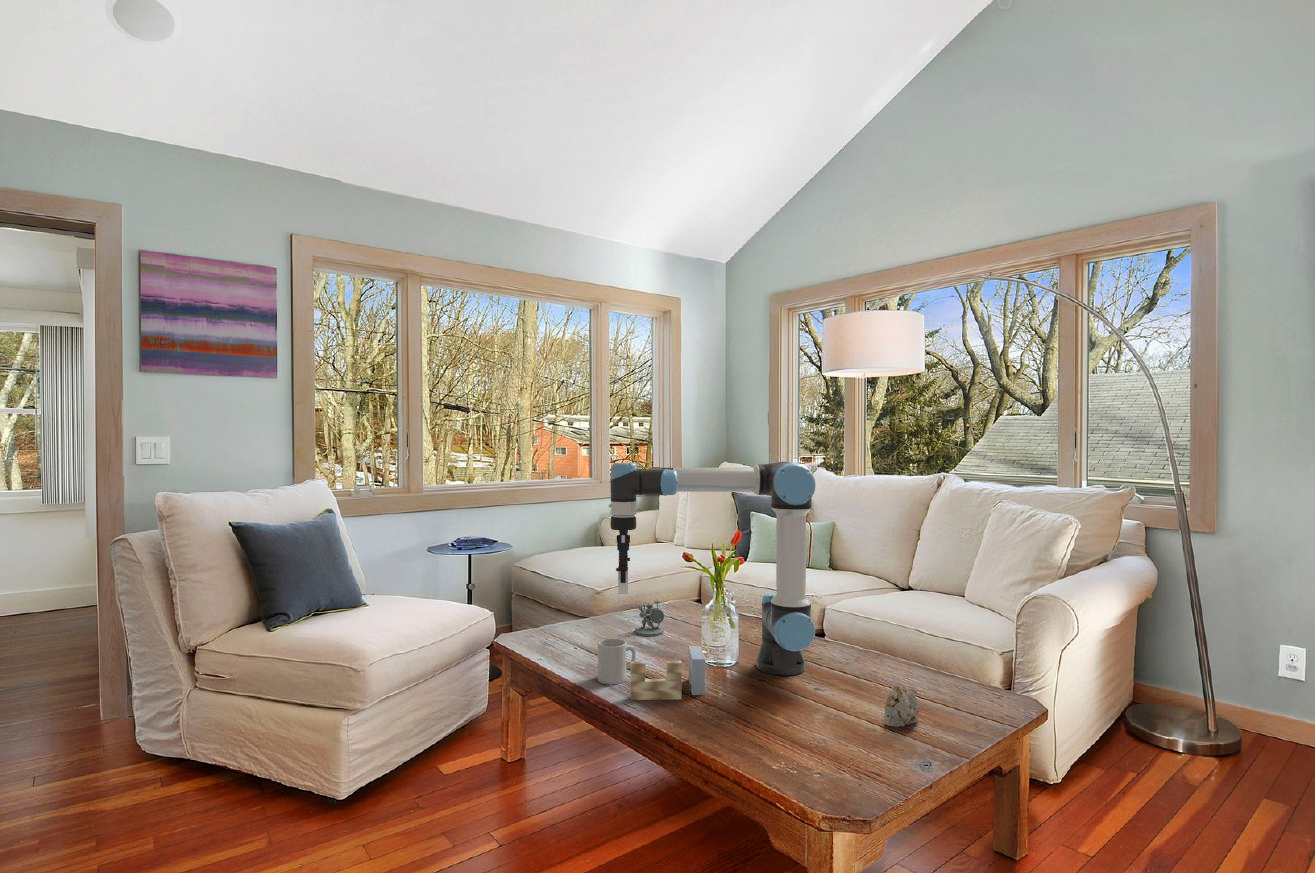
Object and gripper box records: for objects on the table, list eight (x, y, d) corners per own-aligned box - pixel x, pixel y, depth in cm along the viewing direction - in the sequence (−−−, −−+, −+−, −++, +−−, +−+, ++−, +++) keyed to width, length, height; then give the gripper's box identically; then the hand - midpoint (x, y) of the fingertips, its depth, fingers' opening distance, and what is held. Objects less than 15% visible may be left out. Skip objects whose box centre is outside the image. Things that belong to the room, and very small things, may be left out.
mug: (604, 686, 199) (604, 648, 199) (593, 677, 207) (593, 640, 207) (641, 679, 205) (641, 642, 205) (628, 670, 212) (628, 635, 212)
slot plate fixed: (681, 696, 191) (681, 660, 191) (681, 699, 189) (681, 662, 189) (630, 697, 191) (630, 661, 191) (630, 699, 189) (630, 663, 189)
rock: (906, 728, 168) (906, 685, 171) (881, 724, 172) (882, 682, 176) (928, 730, 176) (928, 689, 179) (903, 726, 180) (904, 686, 183)
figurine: (633, 628, 259) (633, 597, 259) (662, 628, 260) (662, 596, 260) (636, 637, 248) (636, 603, 248) (665, 636, 249) (665, 603, 249)
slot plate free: (688, 679, 205) (688, 646, 205) (700, 679, 205) (700, 646, 205) (692, 694, 193) (692, 659, 193) (704, 694, 193) (704, 659, 193)
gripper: (611, 511, 213) (611, 579, 213) (609, 520, 188) (609, 598, 188) (635, 511, 213) (635, 579, 213) (636, 520, 188) (636, 598, 188)
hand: (623, 588), depth 201 cm, fingers open, 13 cm apart
